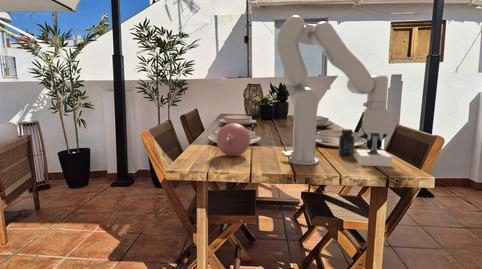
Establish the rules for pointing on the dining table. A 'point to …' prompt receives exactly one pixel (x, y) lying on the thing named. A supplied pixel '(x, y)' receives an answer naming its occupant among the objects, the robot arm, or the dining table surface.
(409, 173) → the dining table surface
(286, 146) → the dining table surface
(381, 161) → the socket block
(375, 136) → the red topped grey cylinder
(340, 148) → the supplement bottle
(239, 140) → the pink rounded piece
